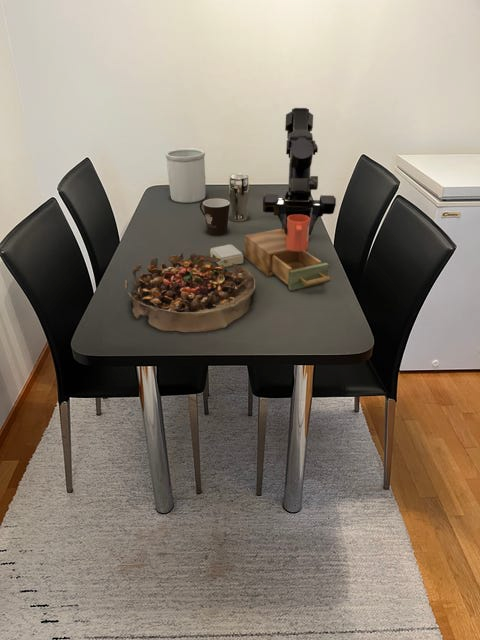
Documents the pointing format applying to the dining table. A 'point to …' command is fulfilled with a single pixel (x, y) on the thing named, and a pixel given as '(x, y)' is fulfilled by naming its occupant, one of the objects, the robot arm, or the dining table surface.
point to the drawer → (299, 269)
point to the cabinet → (265, 248)
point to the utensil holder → (186, 174)
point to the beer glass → (238, 196)
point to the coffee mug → (216, 215)
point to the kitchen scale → (227, 255)
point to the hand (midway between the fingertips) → (297, 234)
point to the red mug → (297, 232)
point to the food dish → (191, 294)
